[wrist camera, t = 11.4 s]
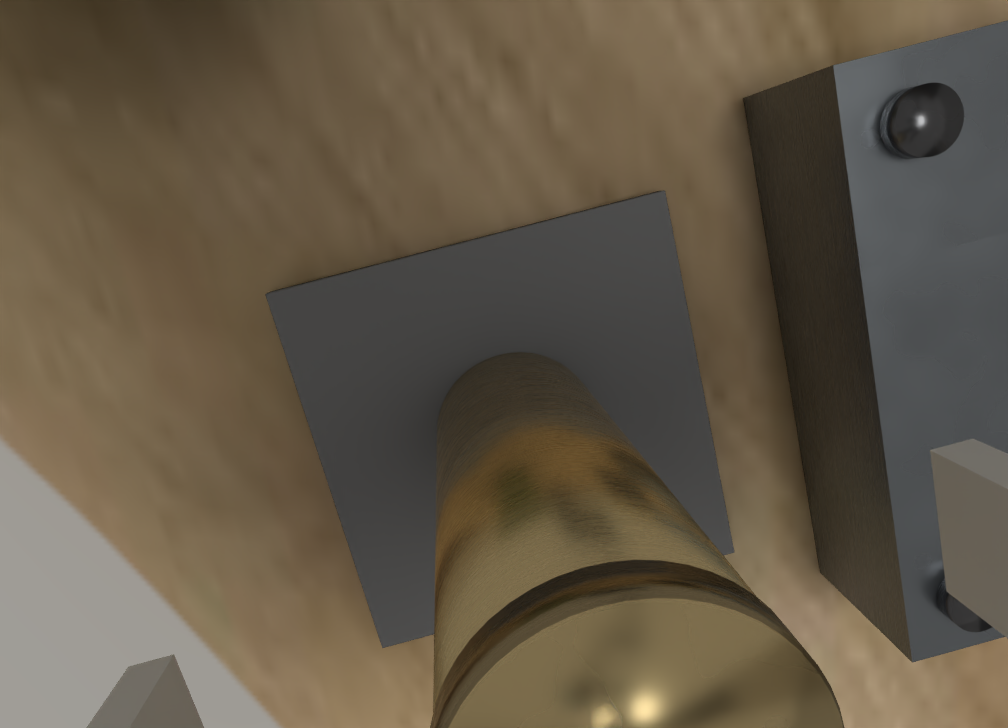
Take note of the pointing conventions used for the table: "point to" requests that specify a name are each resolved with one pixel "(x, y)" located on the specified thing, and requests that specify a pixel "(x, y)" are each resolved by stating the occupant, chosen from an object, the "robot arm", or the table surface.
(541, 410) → the plug
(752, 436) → the table surface
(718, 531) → the mat
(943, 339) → the housing
